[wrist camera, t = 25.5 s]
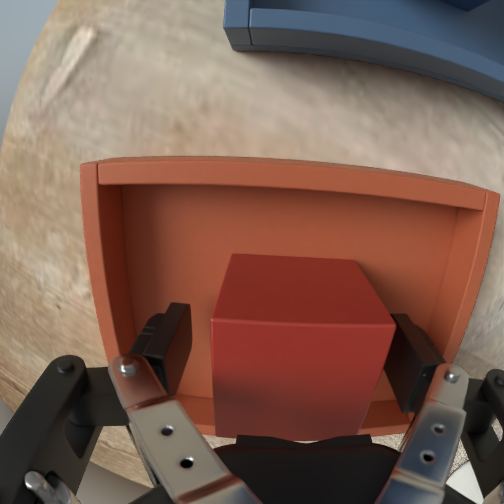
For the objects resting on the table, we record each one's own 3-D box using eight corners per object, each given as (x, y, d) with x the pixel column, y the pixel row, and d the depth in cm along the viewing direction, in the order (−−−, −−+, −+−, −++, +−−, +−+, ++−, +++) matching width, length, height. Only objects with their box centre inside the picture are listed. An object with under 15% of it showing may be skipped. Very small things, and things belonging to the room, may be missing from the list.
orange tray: (140, 387, 17) (124, 421, 14) (113, 157, 12) (78, 163, 10) (404, 398, 16) (418, 431, 13) (464, 182, 12) (501, 193, 9)
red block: (229, 354, 14) (214, 437, 10) (231, 252, 13) (209, 318, 8) (336, 358, 14) (356, 439, 9) (355, 259, 13) (398, 325, 8)
